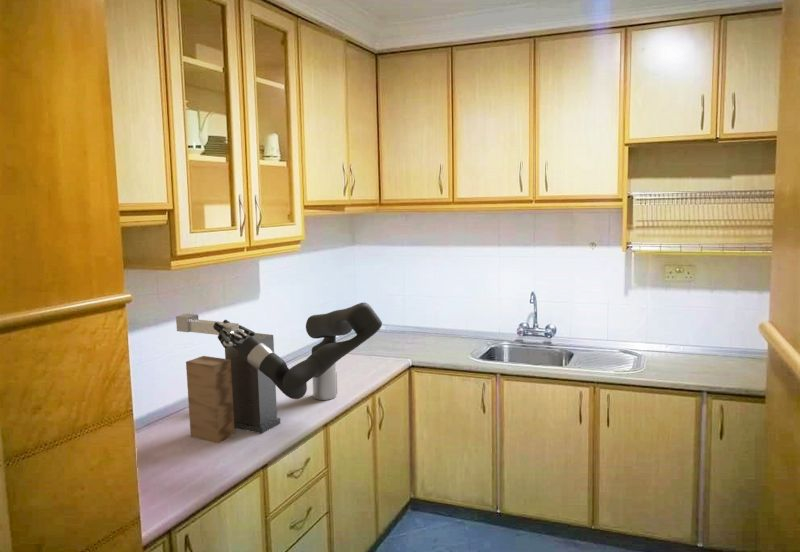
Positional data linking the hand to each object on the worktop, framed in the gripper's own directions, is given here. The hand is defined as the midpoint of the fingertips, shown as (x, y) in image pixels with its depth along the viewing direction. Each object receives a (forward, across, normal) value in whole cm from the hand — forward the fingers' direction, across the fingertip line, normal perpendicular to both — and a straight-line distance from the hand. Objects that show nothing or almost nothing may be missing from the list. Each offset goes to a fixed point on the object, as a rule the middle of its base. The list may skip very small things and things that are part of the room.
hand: (219, 323), depth 204 cm
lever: (+3, 0, +6) cm, 6 cm away
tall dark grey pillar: (-20, -14, +34) cm, 41 cm away
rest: (-14, 0, +37) cm, 39 cm away
